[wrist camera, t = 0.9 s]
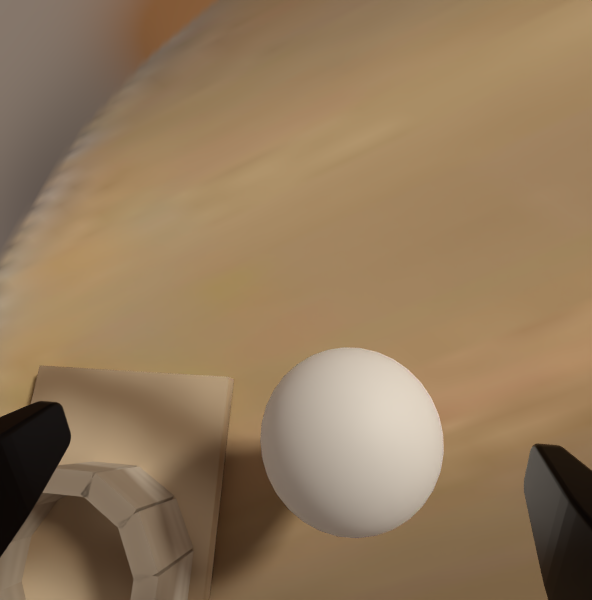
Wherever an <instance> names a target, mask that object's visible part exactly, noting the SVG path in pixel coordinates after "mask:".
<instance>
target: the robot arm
mask: <svg viewBox="0 0 592 600" xmlns="http://www.w3.org/2000/svg"><path fill="white" fill-rule="evenodd" d="M70 441H71V432H70V428H69V425H68V422H67V419H66V416H65V412H64V409H63V407H62V405H61V404H60V403H58V402H52V401H38V402H35V403H33V404H30V405H28V406H25V407H23V408H21V409H18V410H16V411H14V412H11V413H9V414H6V415H4V416H2V417H0V558H1V556H2V555H3V553H4V552H5V550H6V549H7V547H8V546H9V544H10V543H11V542H12V540H13V539H14V537H15V536H16V534H17V533H18V531H19V530H20V528H21V527H22V525H23V524H24V522H25V521H26V519H27V518H28V516H29V515H30V513H31V511H32V510H33V508H34V506H35V505H36V503H37V501H38V500H39V498H40V496H41V494H42V493H43V491H44V489H45V487H46V485H47V484H48V482H49V480H50V478H51V477H52V475H53V473H54V471H55V470H56V468H57V466H58V464H59V463H60V461H61V459H62V457H63V456H64V454H65V452H66V450H67V448H68V447H69V444H70ZM524 494H525V499H526V503H527V508H528V513H529V517H530V522H531V527H532V532H533V536H534V541H535V546H536V550H537V555H538V560H539V564H540V569H541V574H542V578H543V582H544V586H545V590H546V593H547V597H548V600H592V470H590V469H589V468H588V467H587V466H585V465H584V464H583V463H582V462H580V461H579V460H578V459H577V458H575V457H574V456H573V455H572V454H570V453H569V452H568V451H567V450H565V449H564V448H563V447H561V446H558V445H549V444H535V445H533V446H532V448H531V451H530V455H529V460H528V464H527V469H526V474H525V478H524Z"/></svg>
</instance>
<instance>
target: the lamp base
mask: <svg viewBox="0 0 592 600" xmlns="http://www.w3.org/2000/svg"><path fill="white" fill-rule="evenodd" d="M233 382H234V379H232V378H230V377H221V376H204V375H187V374H171V373H154V372H138V371H121V370H105V369H88V368H72V367H55V366H40V367H39V371H38V375H37V380H36V384H35V388H34V392H33V396H32V401H31V404H33V403H35V402H38V401H52V402H58V403H60V404H61V405H62V407H63V409H64V412H65V416H66V419H67V422H68V425H69V428H70V432H71V441H70V444H69V447H68V448H67V450H66V452H65V454H64V456H63V457H62V459H61V461H60V463H59V464H58V466H57V468H56V470H55V471H54V473H53V475H52V477H51V478H50V480H49V482H48V484H47V485H46V487H45V489H44V491H43V493H42V494H41V496H40V498H39V500H38V501H37V503H36V505H35V506H34V508H33V510H32V511H31V513H30V515H29V516H28V518H27V519H26V521H25V522H24V524H23V525H22V527H21V528H20V530H19V531H18V533H17V534H16V536H15V537H14V539H13V540H12V542H11V543H10V544H9V546H8V547H7V549H6V550H5V552H4V553H3V555H2V556H1V558H0V600H209V597H210V588H211V579H212V570H213V561H214V552H215V543H216V534H217V525H218V516H219V507H220V499H221V490H222V481H223V472H224V463H225V454H226V445H227V436H228V427H229V418H230V409H231V400H232V391H233Z"/></svg>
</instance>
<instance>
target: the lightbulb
mask: <svg viewBox="0 0 592 600" xmlns="http://www.w3.org/2000/svg"><path fill="white" fill-rule="evenodd" d="M260 441H261V451H262V459H263V463H264V466H265V469H266V473H267V476H268V478H269V480H270V482H271V484H272V486H273V488H274V490H275V492H276V494H277V495H278V496H279V498H280V499H281V500H282V501H283V503H284V504H285V505H286V507H287V508H288V509H289V510H290V511H291V512H293V513H294V514H295V515H296V516H297V517H298V518H300V519H301V520H302V521H303V522H305V523H307V524H309V525H310V526H312V527H314V528H316V529H317V530H319V531H322V532H325V533H329V534H332V535H335V536H339V537H350V538H362V537H370V536H376V535H379V534H382V533H385V532H388V531H390V530H393V529H395V528H396V527H398V526H400V525H401V524H403V523H404V522H406V521H407V520H409V519H410V518H411V517H412V516H413V515H414V514H415V513H416V512H417V511H418V510H419V509H420V508H421V507H422V506H423V505H424V504H425V502H426V500H427V499H428V497H429V496H430V494H431V493H432V491H433V490H434V487H435V484H436V482H437V479H438V477H439V474H440V471H441V465H442V459H443V453H444V452H443V432H442V427H441V423H440V419H439V414H438V412H437V410H436V408H435V405H434V403H433V401H432V398H431V397H430V395H429V394H428V392H427V391H426V389H425V388H424V386H423V385H422V383H421V382H420V381H419V380H418V379H417V378H416V377H415V376H414V375H413V374H412V373H411V372H410V371H409V370H408V369H407V368H405V367H404V366H402V365H401V364H400V363H398V362H397V361H395V360H394V359H392V358H390V357H387V356H385V355H383V354H380V353H378V352H375V351H371V350H366V349H362V348H337V349H331V350H326V351H323V352H320V353H318V354H315V355H312V356H310V357H308V358H307V359H305V360H304V361H302V362H300V363H299V364H297V365H296V366H295V367H294V368H293V369H291V370H290V371H289V372H288V373H287V374H286V375H285V376H284V377H283V378H282V380H281V381H280V382H279V384H278V385H277V386H276V388H275V389H274V391H273V393H272V395H271V397H270V399H269V401H268V403H267V405H266V409H265V413H264V416H263V420H262V427H261V440H260Z"/></svg>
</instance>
